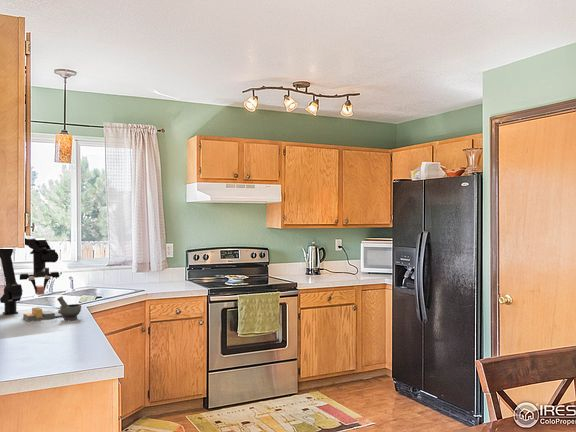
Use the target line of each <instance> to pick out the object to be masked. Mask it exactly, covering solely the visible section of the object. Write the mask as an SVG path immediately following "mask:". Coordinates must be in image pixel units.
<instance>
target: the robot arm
mask: <svg viewBox="0 0 576 432" xmlns="http://www.w3.org/2000/svg"><path fill="white" fill-rule="evenodd" d="M24 237H25V245H24V246H27V247H29V248H30V249H31V251H30V253H29V254H30V255H32V258H33V259H32V260H33V261H32V262H33V266H32V267H33V274H29V273H28V272H27V273H20V274H19V280H27V279H28V282H31V283H32V286H33V289H34V293H35V292H37V290H36V286H37V284H36V279H37V278H44V280H43V286H44V292H45V290H46V287H47V284H48V282H49V280H51V279H52V278H60V272H58V271H50V267H49V266H46V263H56V262H58V260H59V254H58V253H57V251H56V249H52V248H51V247H50V245H49V243H48V241H47V239H46V238H31V237H28V236H24ZM13 253H14V248H13V249H0V262H1V265H2V271H3V277H4V281H5V286H4V288H3V294H2V296H1V297H0V303H1V304H4V305H3V306H4V311H2V314H3V313H4V315H12V314H14V313H15V314H19V311H17V302H21V299H22V296H23V291H24V290H23V287H22V284H21V283H20V284H19V283H18V282H17V279H16V275H15V270H14V264H13V260H12V256H13Z"/></svg>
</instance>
